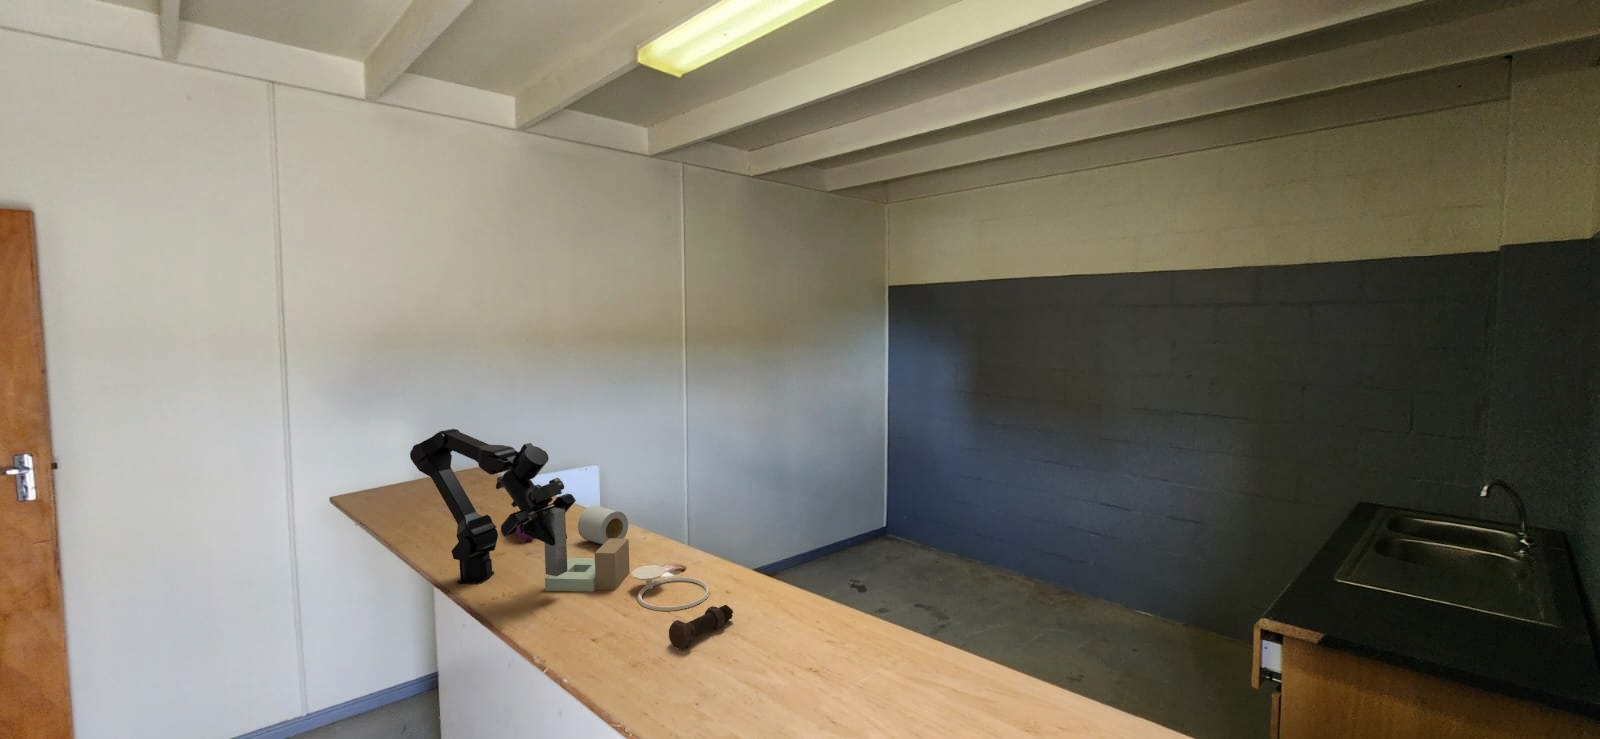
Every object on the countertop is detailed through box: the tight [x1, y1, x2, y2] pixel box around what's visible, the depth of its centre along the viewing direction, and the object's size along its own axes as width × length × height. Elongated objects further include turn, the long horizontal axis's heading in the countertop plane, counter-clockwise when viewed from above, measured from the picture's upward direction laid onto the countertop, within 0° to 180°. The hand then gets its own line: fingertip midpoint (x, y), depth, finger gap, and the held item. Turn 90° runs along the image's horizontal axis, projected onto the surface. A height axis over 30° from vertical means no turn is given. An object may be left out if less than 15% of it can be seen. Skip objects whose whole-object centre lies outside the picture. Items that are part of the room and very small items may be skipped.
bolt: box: [668, 604, 734, 651], centre depth 135 cm, size 6×5×15 cm
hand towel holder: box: [630, 564, 711, 612], centre depth 154 cm, size 17×4×20 cm
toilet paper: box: [577, 505, 629, 546], centre depth 188 cm, size 10×10×10 cm
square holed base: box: [544, 538, 631, 593], centre depth 162 cm, size 17×13×9 cm
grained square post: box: [543, 508, 568, 576], centre depth 152 cm, size 3×3×15 cm
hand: (560, 542), depth 151 cm, fingers closed on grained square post, 3 cm apart
